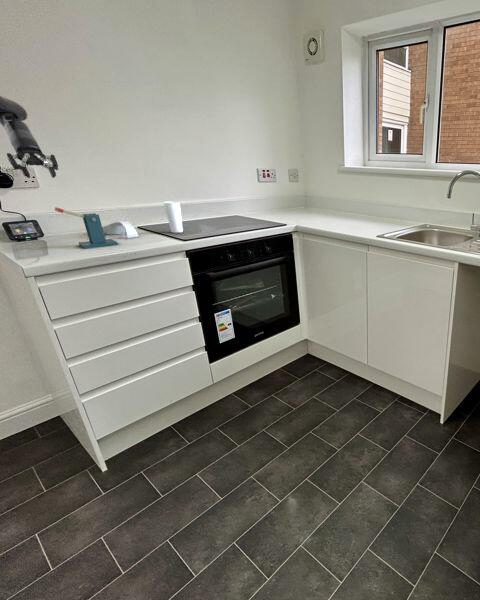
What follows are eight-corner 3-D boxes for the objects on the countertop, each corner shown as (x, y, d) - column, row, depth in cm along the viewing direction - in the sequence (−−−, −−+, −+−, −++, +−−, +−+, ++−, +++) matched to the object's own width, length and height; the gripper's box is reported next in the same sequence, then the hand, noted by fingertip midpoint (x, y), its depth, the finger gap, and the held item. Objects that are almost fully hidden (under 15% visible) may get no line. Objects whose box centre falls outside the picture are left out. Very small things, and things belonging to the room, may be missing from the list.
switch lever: (58, 213, 135) (59, 207, 134) (54, 211, 138) (55, 205, 138) (97, 223, 145) (98, 218, 145) (92, 221, 148) (94, 216, 148)
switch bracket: (85, 248, 142) (76, 216, 138) (79, 245, 147) (69, 214, 143) (118, 244, 151) (110, 214, 146) (110, 241, 156) (103, 212, 151)
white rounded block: (94, 233, 169) (90, 218, 166) (122, 230, 179) (118, 216, 176) (119, 240, 159) (115, 224, 156) (147, 236, 168) (144, 221, 166)
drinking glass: (183, 230, 184) (178, 201, 178) (186, 232, 179) (180, 202, 174) (168, 231, 180) (162, 201, 174) (170, 234, 175) (164, 203, 170)
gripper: (-3, 135, 134) (14, 169, 131) (48, 138, 144) (65, 169, 142) (0, 150, 138) (17, 183, 136) (49, 152, 149) (65, 182, 147)
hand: (41, 176), depth 139 cm, fingers open, 6 cm apart
